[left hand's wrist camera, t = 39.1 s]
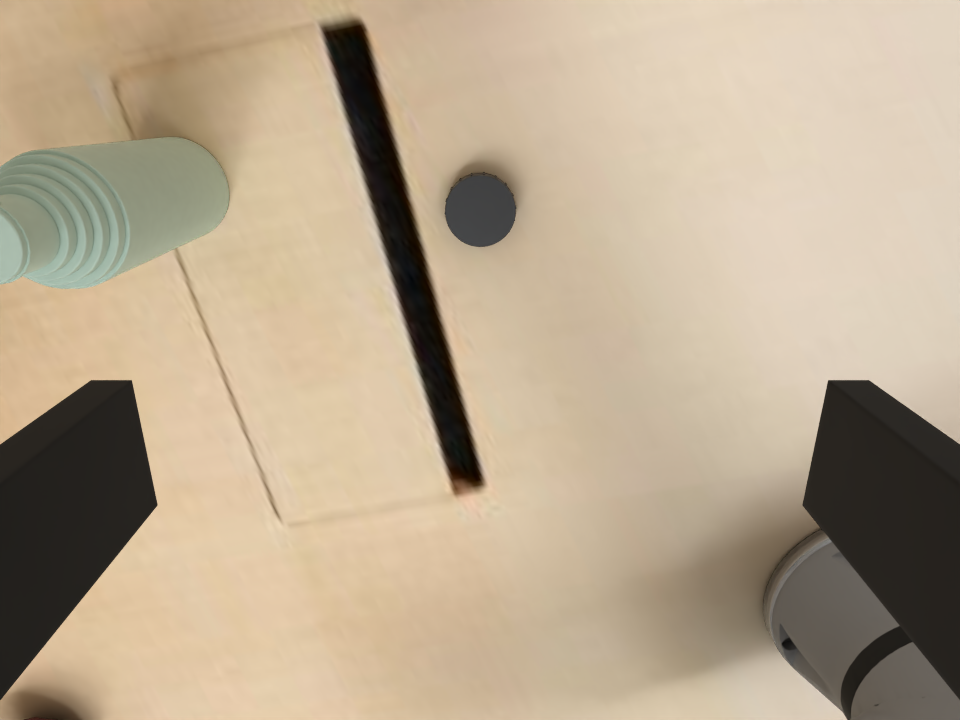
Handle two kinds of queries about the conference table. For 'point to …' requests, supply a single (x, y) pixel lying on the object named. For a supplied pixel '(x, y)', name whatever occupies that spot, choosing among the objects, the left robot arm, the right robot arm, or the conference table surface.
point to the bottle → (104, 208)
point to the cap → (480, 209)
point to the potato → (39, 719)
